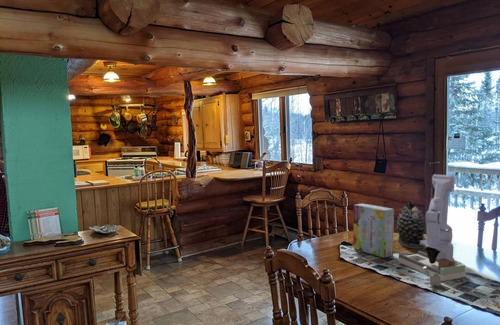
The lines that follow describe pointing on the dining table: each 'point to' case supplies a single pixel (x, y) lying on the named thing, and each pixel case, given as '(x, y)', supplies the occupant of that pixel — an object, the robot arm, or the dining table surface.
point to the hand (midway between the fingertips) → (432, 262)
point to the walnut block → (445, 263)
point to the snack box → (373, 229)
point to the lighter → (433, 277)
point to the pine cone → (410, 226)
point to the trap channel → (432, 266)
